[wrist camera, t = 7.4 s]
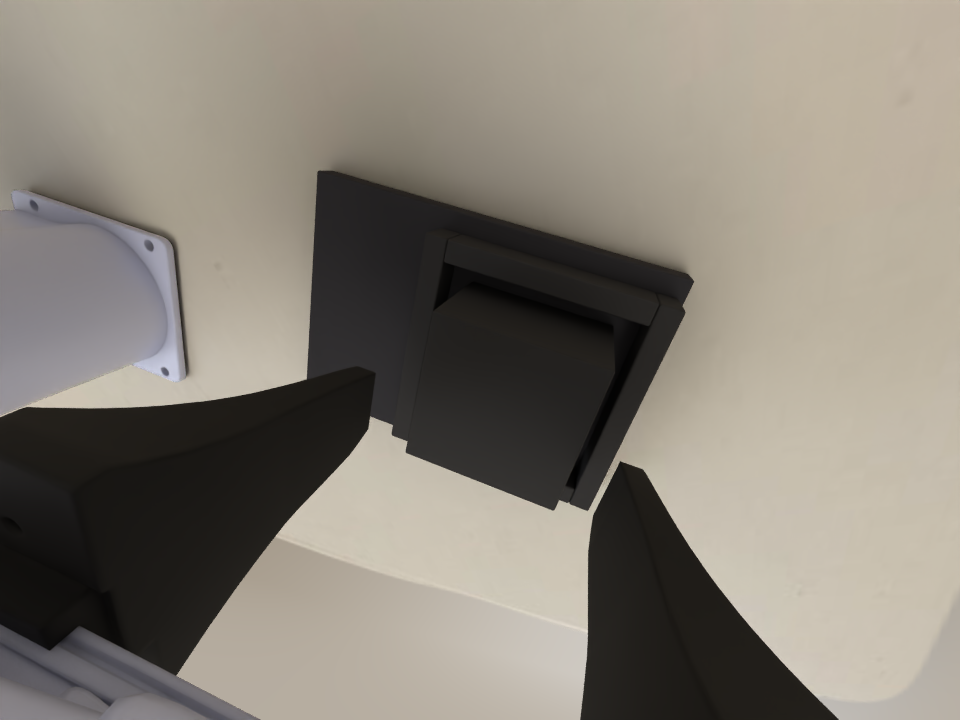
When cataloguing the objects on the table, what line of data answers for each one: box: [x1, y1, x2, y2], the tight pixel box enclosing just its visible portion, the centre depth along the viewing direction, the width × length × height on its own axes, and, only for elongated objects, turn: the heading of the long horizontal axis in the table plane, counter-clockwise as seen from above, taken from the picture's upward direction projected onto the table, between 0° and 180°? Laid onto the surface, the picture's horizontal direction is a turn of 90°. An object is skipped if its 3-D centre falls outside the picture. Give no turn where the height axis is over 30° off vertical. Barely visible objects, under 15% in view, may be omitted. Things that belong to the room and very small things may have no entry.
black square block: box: [406, 282, 615, 510], centre depth 15 cm, size 5×5×4 cm
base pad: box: [307, 171, 694, 511], centre depth 17 cm, size 14×10×2 cm
